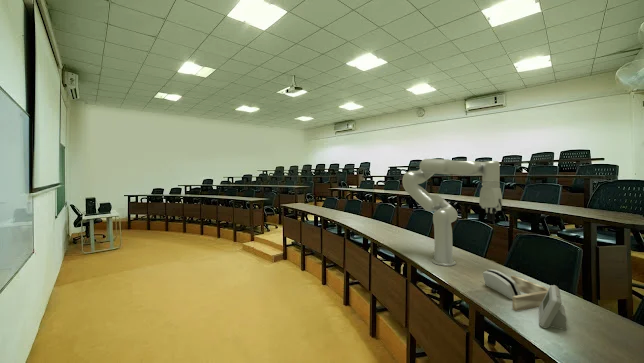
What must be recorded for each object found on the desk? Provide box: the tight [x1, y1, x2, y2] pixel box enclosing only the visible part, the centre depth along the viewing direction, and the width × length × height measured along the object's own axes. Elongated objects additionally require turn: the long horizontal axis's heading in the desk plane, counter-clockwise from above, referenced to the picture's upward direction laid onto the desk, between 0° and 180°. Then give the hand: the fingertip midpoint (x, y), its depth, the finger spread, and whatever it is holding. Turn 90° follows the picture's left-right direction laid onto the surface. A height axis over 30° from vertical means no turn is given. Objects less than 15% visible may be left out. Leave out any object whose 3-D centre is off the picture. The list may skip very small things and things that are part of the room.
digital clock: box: [538, 284, 567, 331], centre depth 95 cm, size 16×9×11 cm, turn 130°
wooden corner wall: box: [510, 275, 549, 312], centre depth 113 cm, size 18×20×5 cm
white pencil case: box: [482, 268, 523, 300], centre depth 119 cm, size 17×5×10 cm, turn 7°
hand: (491, 220), depth 140 cm, fingers closed
